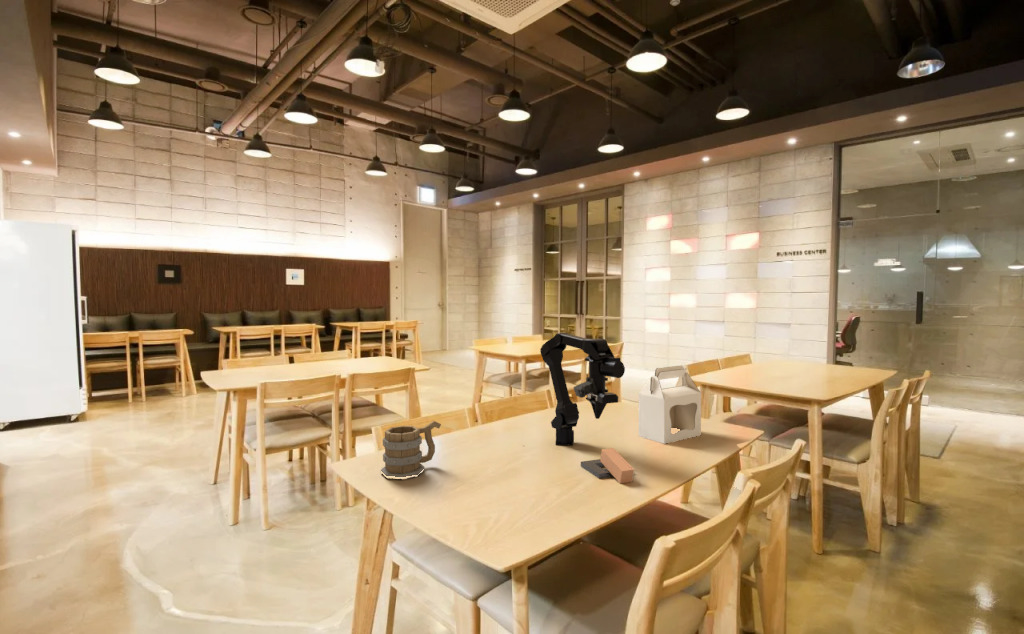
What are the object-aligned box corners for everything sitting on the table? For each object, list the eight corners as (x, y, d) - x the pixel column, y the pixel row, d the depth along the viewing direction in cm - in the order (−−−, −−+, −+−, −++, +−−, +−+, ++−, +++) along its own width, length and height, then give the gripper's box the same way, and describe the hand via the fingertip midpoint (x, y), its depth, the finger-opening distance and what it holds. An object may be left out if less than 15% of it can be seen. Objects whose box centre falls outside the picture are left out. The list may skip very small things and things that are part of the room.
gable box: (664, 444, 181) (664, 371, 180) (637, 436, 192) (637, 367, 191) (701, 435, 192) (701, 366, 191) (674, 428, 204) (674, 363, 203)
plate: (580, 466, 158) (580, 461, 158) (612, 461, 162) (612, 457, 162) (599, 478, 146) (599, 473, 146) (632, 473, 150) (632, 469, 150)
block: (601, 449, 152) (621, 471, 141) (613, 448, 153) (634, 469, 143) (600, 461, 153) (619, 483, 142) (611, 459, 155) (632, 481, 144)
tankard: (390, 483, 144) (389, 434, 144) (377, 471, 155) (376, 425, 154) (450, 470, 155) (449, 424, 155) (434, 459, 166) (433, 416, 165)
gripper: (564, 372, 174) (565, 414, 175) (589, 380, 157) (590, 427, 157) (591, 370, 178) (592, 412, 179) (619, 377, 160) (619, 423, 161)
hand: (597, 418), depth 169 cm, fingers closed
